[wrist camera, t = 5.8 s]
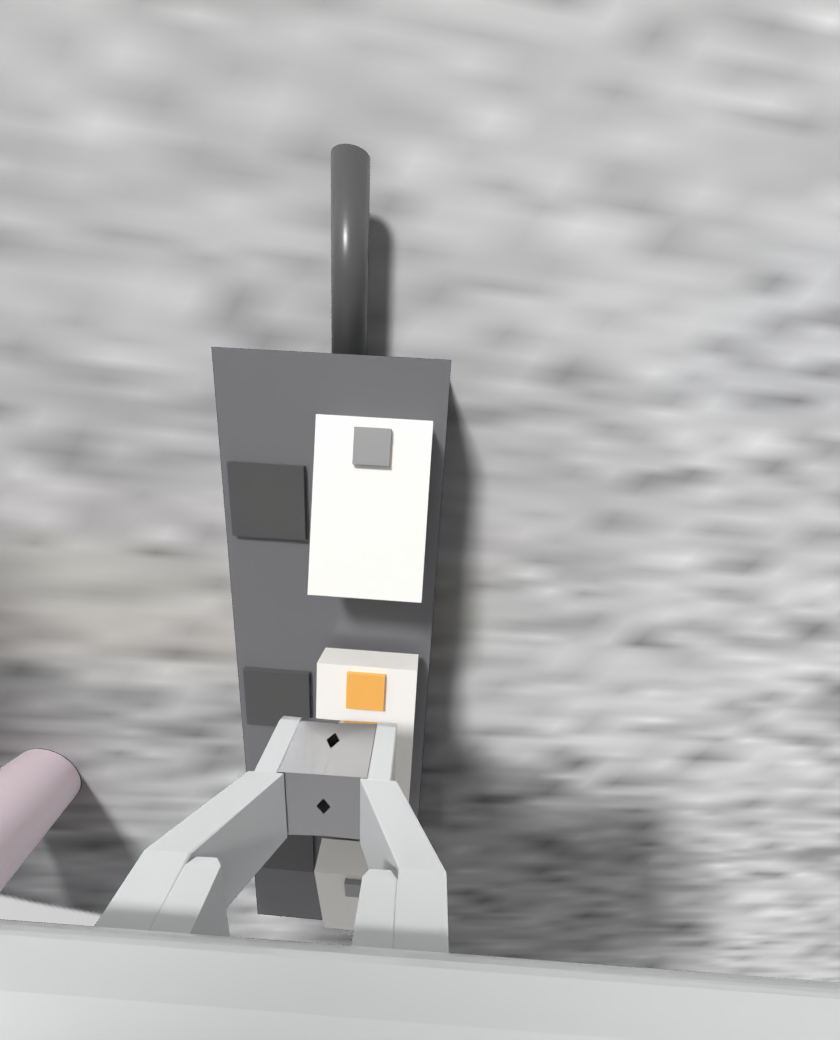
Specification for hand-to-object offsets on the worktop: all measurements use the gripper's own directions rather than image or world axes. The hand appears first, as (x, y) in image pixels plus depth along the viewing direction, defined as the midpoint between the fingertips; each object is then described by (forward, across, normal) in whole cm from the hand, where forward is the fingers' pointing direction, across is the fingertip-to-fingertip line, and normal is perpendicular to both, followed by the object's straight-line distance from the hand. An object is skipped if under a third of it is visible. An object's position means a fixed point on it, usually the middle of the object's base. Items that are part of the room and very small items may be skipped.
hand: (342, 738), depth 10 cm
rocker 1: (+4, 0, -5) cm, 7 cm away
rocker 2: (+4, 0, +2) cm, 4 cm away
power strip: (+8, +1, -1) cm, 8 cm away
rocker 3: (+4, 0, +10) cm, 10 cm away
